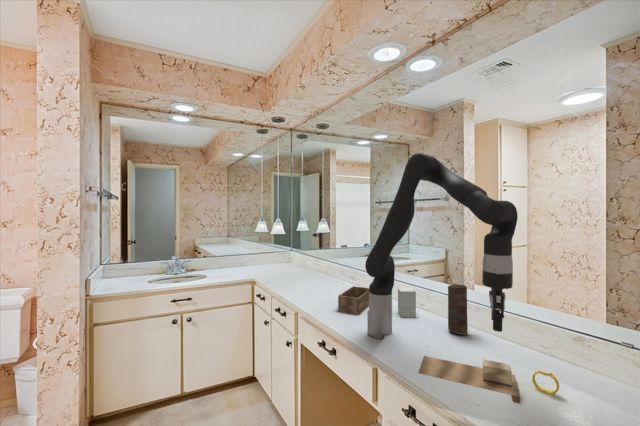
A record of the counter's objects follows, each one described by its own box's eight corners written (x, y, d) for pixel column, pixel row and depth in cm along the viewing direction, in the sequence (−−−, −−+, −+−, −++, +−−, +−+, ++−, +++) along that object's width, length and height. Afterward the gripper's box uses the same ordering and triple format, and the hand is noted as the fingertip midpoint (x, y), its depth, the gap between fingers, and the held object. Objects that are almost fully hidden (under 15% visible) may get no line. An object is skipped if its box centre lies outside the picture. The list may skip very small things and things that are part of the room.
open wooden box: (338, 311, 151) (338, 295, 151) (353, 300, 170) (353, 286, 170) (359, 315, 146) (359, 298, 146) (372, 303, 165) (372, 288, 165)
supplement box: (412, 312, 150) (412, 287, 149) (416, 318, 142) (416, 291, 142) (397, 312, 150) (397, 287, 150) (400, 317, 143) (400, 291, 143)
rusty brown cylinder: (455, 337, 120) (456, 287, 120) (443, 330, 128) (443, 283, 127) (471, 335, 123) (471, 286, 122) (458, 328, 130) (459, 282, 129)
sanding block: (483, 380, 87) (483, 365, 87) (482, 374, 91) (482, 359, 91) (511, 387, 84) (511, 371, 84) (510, 380, 88) (510, 364, 88)
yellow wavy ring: (532, 390, 86) (530, 368, 86) (534, 386, 88) (533, 365, 88) (558, 398, 81) (556, 375, 82) (560, 394, 83) (558, 372, 84)
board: (418, 377, 92) (418, 372, 92) (423, 360, 102) (423, 355, 102) (520, 402, 80) (520, 396, 80) (514, 379, 91) (514, 374, 91)
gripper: (482, 264, 95) (481, 315, 95) (483, 273, 82) (482, 332, 83) (510, 266, 92) (509, 319, 92) (515, 276, 79) (514, 337, 79)
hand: (496, 325), depth 87 cm, fingers open, 8 cm apart
